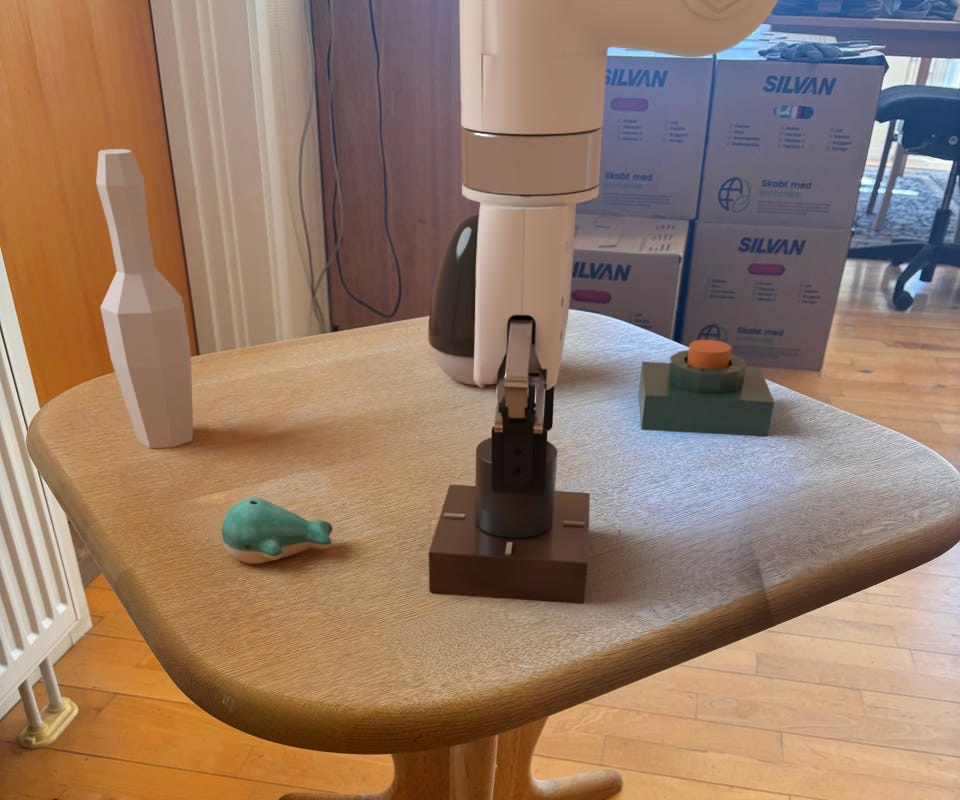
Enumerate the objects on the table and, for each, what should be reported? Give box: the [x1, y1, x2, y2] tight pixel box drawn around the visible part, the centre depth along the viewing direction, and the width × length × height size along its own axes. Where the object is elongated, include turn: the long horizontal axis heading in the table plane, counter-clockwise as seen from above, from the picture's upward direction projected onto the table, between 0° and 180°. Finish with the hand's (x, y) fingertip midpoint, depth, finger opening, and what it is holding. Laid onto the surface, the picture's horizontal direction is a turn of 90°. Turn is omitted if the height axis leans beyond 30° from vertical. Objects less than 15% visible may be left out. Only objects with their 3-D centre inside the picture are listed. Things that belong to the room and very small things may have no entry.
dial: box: [474, 436, 558, 538], centre depth 63 cm, size 5×5×5 cm
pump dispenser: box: [427, 212, 498, 386], centre depth 92 cm, size 10×10×15 cm
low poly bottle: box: [95, 148, 194, 449], centre depth 76 cm, size 6×6×22 cm
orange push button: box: [687, 339, 732, 369], centre depth 86 cm, size 4×4×2 cm
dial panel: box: [428, 484, 591, 604], centre depth 65 cm, size 10×10×3 cm
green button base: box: [637, 349, 775, 438], centre depth 88 cm, size 11×9×5 cm
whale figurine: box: [221, 497, 333, 565], centre depth 66 cm, size 6×7×4 cm
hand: (523, 458), depth 62 cm, fingers open, 9 cm apart
